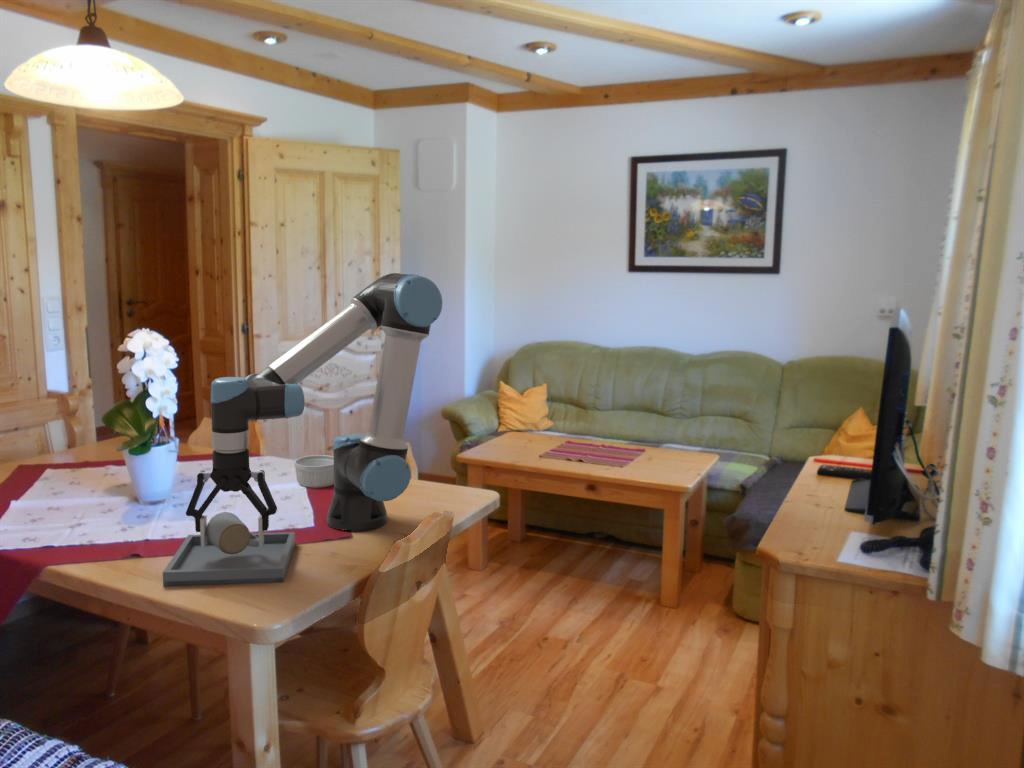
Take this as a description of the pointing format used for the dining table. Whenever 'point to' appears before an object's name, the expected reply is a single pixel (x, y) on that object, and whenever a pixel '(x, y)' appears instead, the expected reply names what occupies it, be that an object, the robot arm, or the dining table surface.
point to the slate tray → (230, 562)
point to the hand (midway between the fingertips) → (232, 545)
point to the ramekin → (315, 471)
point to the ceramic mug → (230, 533)
